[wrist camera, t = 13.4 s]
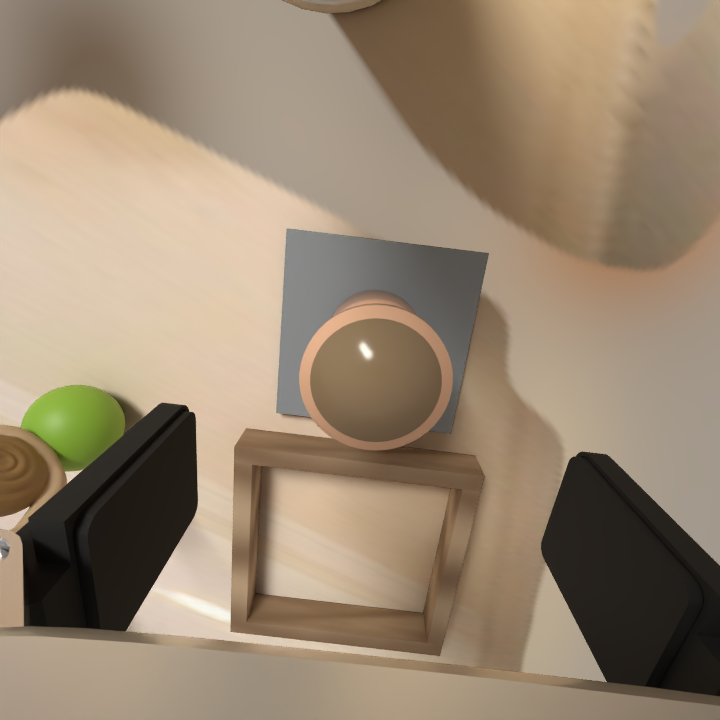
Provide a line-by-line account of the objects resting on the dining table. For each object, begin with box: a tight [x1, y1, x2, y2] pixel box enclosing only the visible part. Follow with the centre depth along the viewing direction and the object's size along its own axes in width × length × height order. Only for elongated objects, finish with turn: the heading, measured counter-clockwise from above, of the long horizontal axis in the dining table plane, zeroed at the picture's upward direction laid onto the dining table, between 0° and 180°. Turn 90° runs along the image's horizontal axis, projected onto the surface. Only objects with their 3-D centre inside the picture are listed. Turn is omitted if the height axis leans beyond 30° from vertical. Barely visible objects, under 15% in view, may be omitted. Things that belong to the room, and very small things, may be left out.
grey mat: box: [276, 229, 489, 434], centre depth 25 cm, size 12×12×1 cm
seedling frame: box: [231, 428, 485, 656], centre depth 29 cm, size 16×16×2 cm
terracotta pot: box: [299, 290, 453, 451], centre depth 21 cm, size 7×7×8 cm
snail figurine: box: [0, 385, 125, 533], centre depth 22 cm, size 5×6×12 cm
